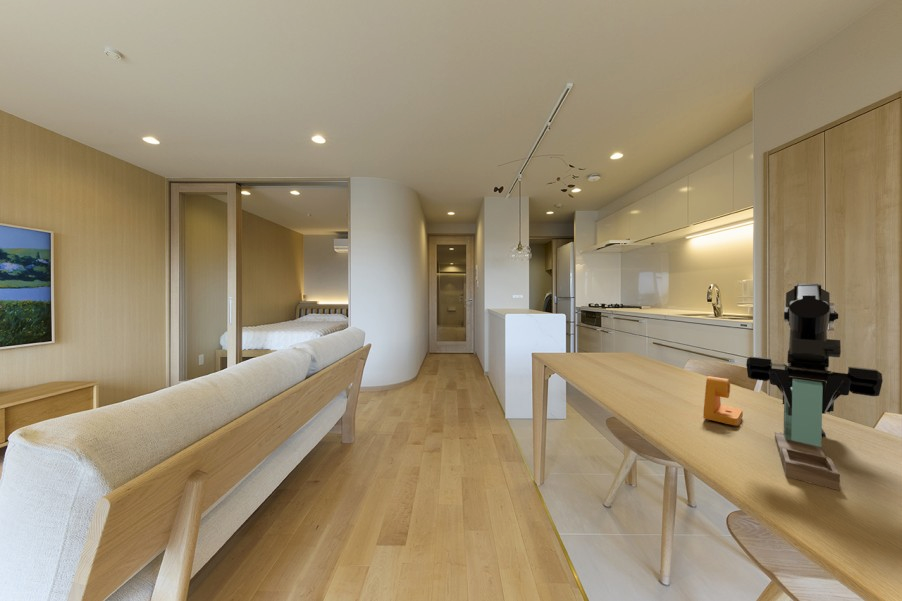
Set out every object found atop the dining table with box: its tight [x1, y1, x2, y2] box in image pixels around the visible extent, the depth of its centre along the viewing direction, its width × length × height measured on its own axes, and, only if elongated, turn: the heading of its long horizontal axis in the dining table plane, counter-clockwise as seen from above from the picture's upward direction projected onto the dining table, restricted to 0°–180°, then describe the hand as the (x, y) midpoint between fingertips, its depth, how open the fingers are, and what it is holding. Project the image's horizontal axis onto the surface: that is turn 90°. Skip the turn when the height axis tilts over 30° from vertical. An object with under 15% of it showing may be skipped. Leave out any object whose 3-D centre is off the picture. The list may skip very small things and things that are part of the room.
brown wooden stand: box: [774, 387, 841, 491], centre depth 70 cm, size 22×7×14 cm, turn 139°
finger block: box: [791, 379, 823, 448], centre depth 65 cm, size 4×4×12 cm
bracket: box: [702, 375, 744, 427], centre depth 93 cm, size 11×7×12 cm, turn 131°
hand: (806, 409), depth 64 cm, fingers closed on finger block, 4 cm apart
